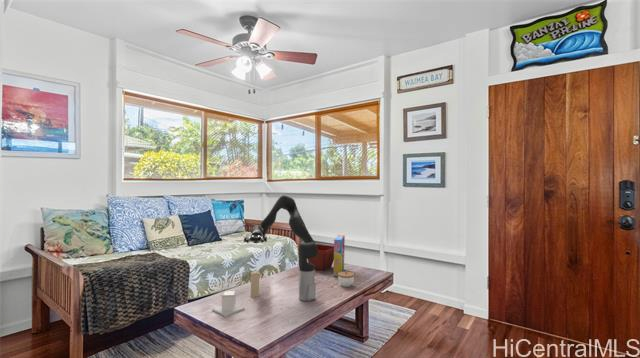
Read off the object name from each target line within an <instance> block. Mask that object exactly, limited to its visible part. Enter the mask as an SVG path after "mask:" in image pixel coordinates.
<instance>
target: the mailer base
mask: <svg viewBox="0 0 640 358" xmlns="http://www.w3.org/2000/svg"><path fill="white" fill-rule="evenodd" d="M259 295H260V271H259V270H257V271H256V270H253V271H251V273H250V297H251V298H252V297H259Z"/></svg>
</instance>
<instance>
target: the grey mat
mask: <svg viewBox="0 0 640 358" xmlns="http://www.w3.org/2000/svg"><path fill="white" fill-rule="evenodd" d="M244 310H245V307H244V306H242V305H239V304H237V303H235V308H234V310H228V311H222V304H221V305H219V306H215V307H214V308H212V309H211V311H212V312H215V313H217V314H218V315H221V316H223V317H225V318H226V317H227V318H228V317H229V316H232V315H234V314H236V313H239V312H242V311H244Z"/></svg>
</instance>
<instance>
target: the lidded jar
mask: <svg viewBox="0 0 640 358" xmlns="http://www.w3.org/2000/svg"><path fill="white" fill-rule="evenodd" d="M337 277H338V282H339V284H340V285H341V286H342V287H345V288H348V287H351V285H353V283H354V279H355V274H354V272H352V271H347V270H346V271H345V270H344V271H343V272H340V273H338V276H337Z"/></svg>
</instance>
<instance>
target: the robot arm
mask: <svg viewBox="0 0 640 358" xmlns="http://www.w3.org/2000/svg"><path fill="white" fill-rule="evenodd" d="M281 209H283V210H286V211H287V213H288V214H289V220H288V225H289V228H290V229H291V232H292V233H293V234H294V235H295V236H296V237H298V238H299V239H301V240H302V241H303V242H301V243H300V244H299V245H298V251H297V252H298V254H297V255H298V267H299V269H298V272H299V275H298V300H300V301H303V302H311V301H313V300H315V299H316V297H317V296H316V293H317V292H316V290H317V289H316V286H317V284H316V282H315V274H316V273H315V271H316V269H315V266H314V264H312V263H308V260H307V259H308V258H314V257H316V256H317V255H318V248H317V245H316V242H315V240H314V239H313V237H312V235H311V234H310V232H309V231H308V229H307V226H306V224H305V222H304V219H303V218H302V216H301V214H300V212H299V209H298V207H297V204H296V200H295V199H294V198H292V197H290V196H288V195H284V194H283V195H280V196H279V197H278V199H277V200H276V201H275V203H274V204H273V206H272V208H271V210H270V211H269V212H268V214H267V215H266V217H265V218H264V219H263V220H262V221H261V222H260V226H259V225H257V224H256V225H254V226H253V227H252V228H251V231H250V236H249V237H248V236H247V235H246V236H244V237H243V242H244V243H247V244H249V243H254V244H260V243H261V244H263V243H264V242H267V241H268V237H267V236H266V235H267V232H268V230H269V229H270V228H271V227H272V226H273V224H275V222H276V219H277V214H278V212H279V211H280V210H281Z"/></svg>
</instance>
